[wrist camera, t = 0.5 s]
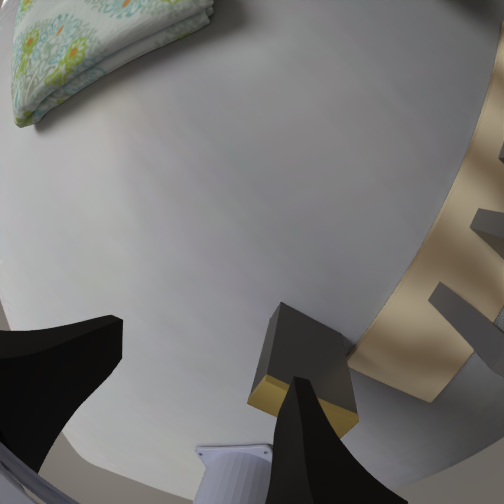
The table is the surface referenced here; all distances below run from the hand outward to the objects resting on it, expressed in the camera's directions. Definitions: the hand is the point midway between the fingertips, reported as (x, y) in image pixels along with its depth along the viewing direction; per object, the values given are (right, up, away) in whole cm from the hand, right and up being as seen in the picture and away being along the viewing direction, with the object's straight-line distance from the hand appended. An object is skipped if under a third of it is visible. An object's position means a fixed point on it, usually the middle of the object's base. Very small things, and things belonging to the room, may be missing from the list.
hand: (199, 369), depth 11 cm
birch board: (+21, +8, +5) cm, 23 cm away
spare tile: (+6, -1, +9) cm, 11 cm away
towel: (-12, +28, +7) cm, 31 cm away
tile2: (+17, +1, +7) cm, 18 cm away
